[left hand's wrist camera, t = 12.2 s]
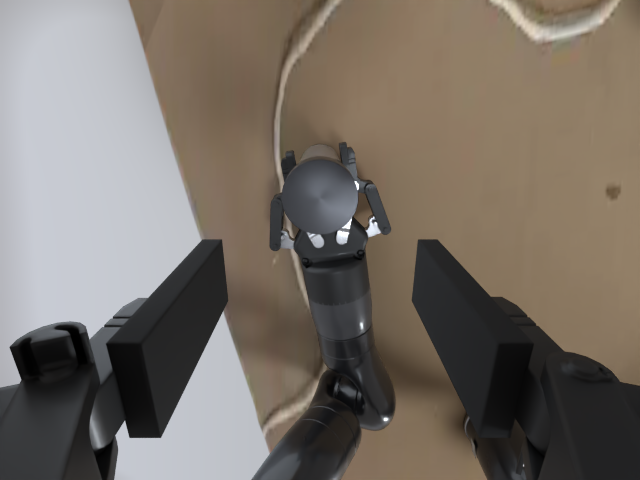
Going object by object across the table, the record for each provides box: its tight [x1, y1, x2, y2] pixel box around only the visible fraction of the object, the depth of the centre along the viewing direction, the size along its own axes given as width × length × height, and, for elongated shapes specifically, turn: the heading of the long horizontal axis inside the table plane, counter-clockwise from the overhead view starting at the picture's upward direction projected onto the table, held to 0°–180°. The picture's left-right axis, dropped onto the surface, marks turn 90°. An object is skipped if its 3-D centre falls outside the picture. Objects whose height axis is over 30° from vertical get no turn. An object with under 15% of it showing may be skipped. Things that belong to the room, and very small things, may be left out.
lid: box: [282, 156, 358, 235], centre depth 27 cm, size 6×6×2 cm
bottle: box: [299, 144, 341, 163], centre depth 35 cm, size 5×5×18 cm
